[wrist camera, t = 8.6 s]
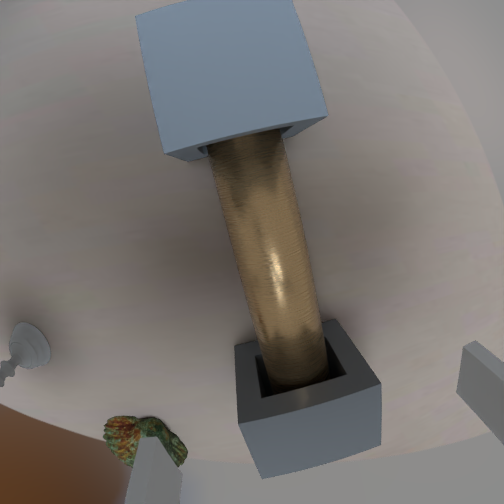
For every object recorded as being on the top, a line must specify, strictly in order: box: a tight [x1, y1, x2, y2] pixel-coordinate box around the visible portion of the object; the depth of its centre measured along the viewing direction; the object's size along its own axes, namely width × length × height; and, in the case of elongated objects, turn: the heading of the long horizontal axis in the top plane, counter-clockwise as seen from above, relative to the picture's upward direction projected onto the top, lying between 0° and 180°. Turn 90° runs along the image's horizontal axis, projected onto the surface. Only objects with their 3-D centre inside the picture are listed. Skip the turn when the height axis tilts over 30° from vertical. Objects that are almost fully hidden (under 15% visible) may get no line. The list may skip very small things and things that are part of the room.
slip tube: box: [206, 128, 330, 395], centre depth 20 cm, size 22×4×4 cm, turn 14°
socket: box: [234, 319, 382, 479], centre depth 23 cm, size 6×9×10 cm
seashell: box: [103, 416, 188, 468], centre depth 28 cm, size 10×4×10 cm
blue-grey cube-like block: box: [135, 0, 328, 162], centre depth 17 cm, size 8×8×9 cm
